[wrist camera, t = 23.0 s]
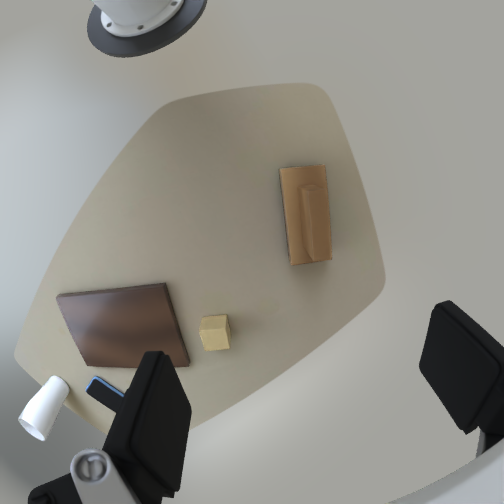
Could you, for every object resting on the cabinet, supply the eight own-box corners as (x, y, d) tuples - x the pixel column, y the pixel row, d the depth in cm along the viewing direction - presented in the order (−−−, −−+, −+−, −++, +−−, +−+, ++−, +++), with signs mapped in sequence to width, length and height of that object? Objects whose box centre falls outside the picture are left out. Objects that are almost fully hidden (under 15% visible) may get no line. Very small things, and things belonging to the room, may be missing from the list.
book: (59, 294, 36) (55, 297, 35) (165, 282, 36) (163, 286, 35) (89, 362, 41) (87, 366, 39) (190, 361, 40) (188, 366, 39)
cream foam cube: (202, 316, 38) (198, 330, 34) (226, 314, 37) (225, 328, 34) (207, 336, 39) (204, 351, 35) (231, 334, 39) (230, 349, 35)
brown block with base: (287, 257, 35) (299, 283, 27) (277, 168, 32) (288, 170, 24) (325, 251, 35) (345, 275, 27) (318, 164, 31) (339, 165, 24)
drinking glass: (45, 378, 43) (16, 422, 29) (52, 367, 41) (19, 414, 27) (68, 397, 44) (42, 443, 30) (76, 388, 43) (48, 438, 29)
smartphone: (93, 376, 41) (159, 418, 44) (95, 373, 41) (160, 415, 45) (83, 392, 42) (144, 430, 45) (85, 389, 43) (145, 427, 46)
